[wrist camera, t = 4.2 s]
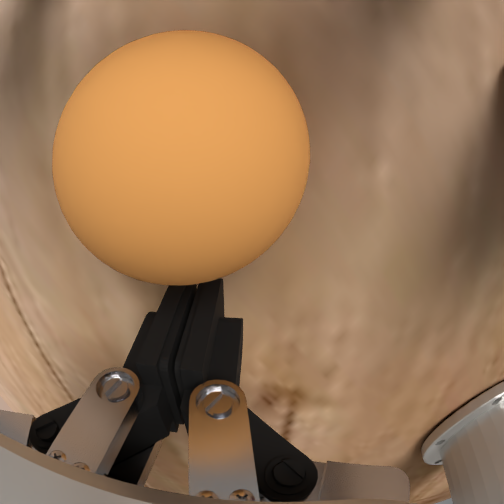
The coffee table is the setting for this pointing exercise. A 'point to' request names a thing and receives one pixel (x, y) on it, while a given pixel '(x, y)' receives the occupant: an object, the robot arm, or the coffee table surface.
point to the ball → (181, 157)
